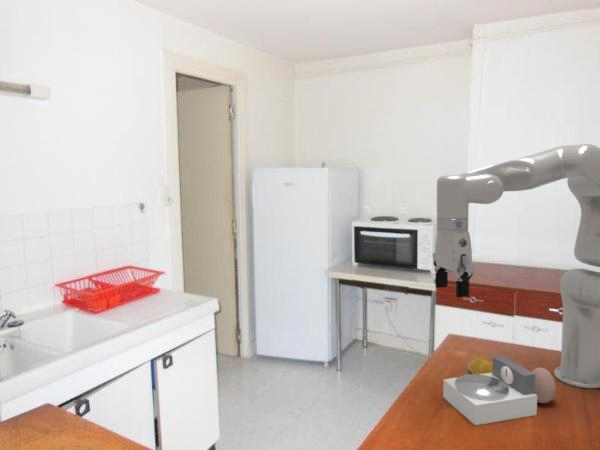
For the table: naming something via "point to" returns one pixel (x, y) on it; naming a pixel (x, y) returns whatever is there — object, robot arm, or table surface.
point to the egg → (544, 385)
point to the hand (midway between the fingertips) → (451, 291)
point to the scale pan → (482, 387)
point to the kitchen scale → (511, 407)
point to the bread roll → (480, 366)
